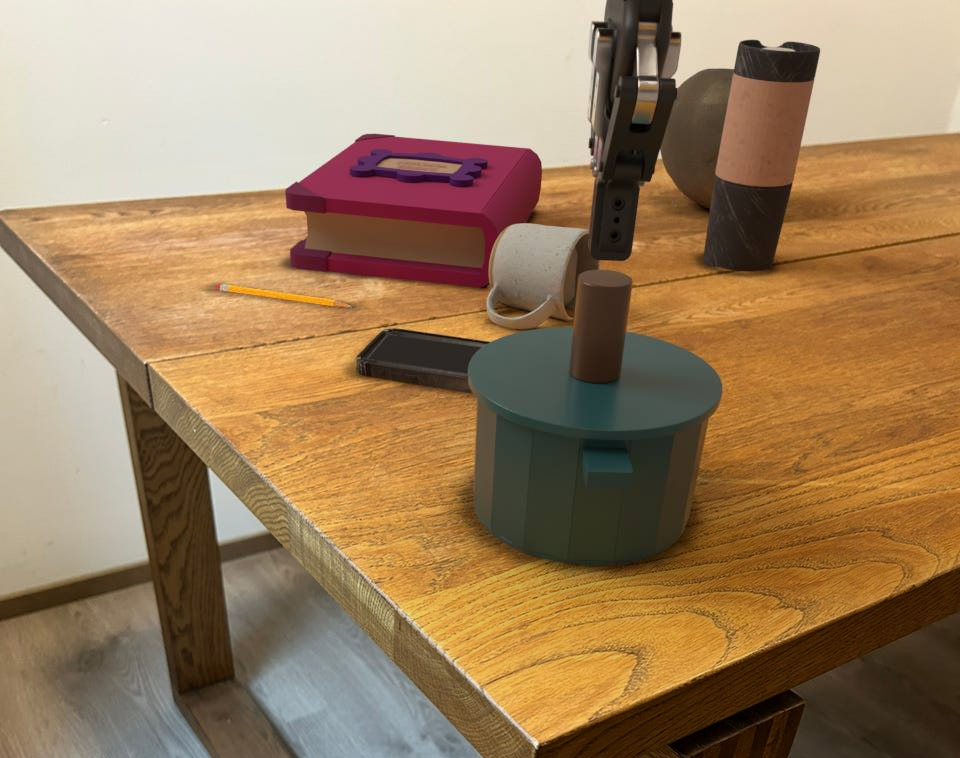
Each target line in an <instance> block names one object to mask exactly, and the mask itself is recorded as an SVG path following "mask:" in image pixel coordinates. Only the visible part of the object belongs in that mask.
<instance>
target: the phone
mask: <svg viewBox="0 0 960 758" xmlns="http://www.w3.org/2000/svg"><path fill="white" fill-rule="evenodd" d="M490 342H491V341H488V340H481V339H474V338H467V337H460V336H454V335H446V334H439V333H433V332H425V331H418V330H411V329H404V328H395V327H394V328H393V327H391V328H386V329H385V328H384V329H382V330H381V331H380V332H379V333H378V334H377V335H376V336H375V337H374V338H373V339H372V340H371V341H370V342H369V343H368V344H367V345H366V346H365V347H364V348H363V349H362V350H361V351H360V352H359V353H358V354H357V355H356V357H355V358H356V360H355V361H356V373H358V374H359V375H360V376H362V377H363V376H364V377H369V378H376V379H380V380H381V379H382V380H389V381H395V382H399V383H408V384H414V385H420V386H425V387H432V388H433V387H434V388H440V389H446V390H453V391H459V392H467V393H472V391H471V389H470V387H469V384H468V366H469V362H470V360H471V358H472V356H473V355H474V354H475V353H476V352H477V351H478V350H479V349H480V348H482V347H483V346H484V345H486V344H488V343H490ZM472 394H473V393H472Z"/></svg>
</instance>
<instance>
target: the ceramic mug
mask: <svg viewBox="0 0 960 758" xmlns="http://www.w3.org/2000/svg"><path fill="white" fill-rule="evenodd" d="M588 238H589V229H587V228H578V227H577V228H576V227H569V226H568V227H567V226H566V227H565V226H558V225H557V226H555V225H545V224H538V223H532V222H531V223H530V222H526V223H521V224H514V225H510V226H508V227H506V228H505V229H504V230H503V231H502V232H501V233H500V235H499V236H498V238H497V240H496V241H495V243H494V246H493V248H492V252H491V255H490V260H489V287H490V289H491V290H490V291H489V293H488V295H487V297H486V303H485V304H486V311H487V312H486V313H487V315H488V319H489V320H490V321H491V322H492V323H493V324H496V325H498V326H501V327H502V328H503V327H504V328H508V329H513V330H514V329H515V330H534V329H537V328H538V327H539V326H541V325H542V324H543V323H545V322H546V321H547V320H548V319H549V318H554V319H557V320H561V321H566V322H570V321H574V317H571V316H569V315H568V313H567V311H566V308H570V309H573V310H575V305H576V294H577V284H578V277H579V275H580V274H581V273H583V272H586V271H590V270H600V267H601V266H600V264H601V263H600V262H601V260H596V259H594V258H593V257H592V255H591V253H590V249H589V246H588ZM498 303H502V304H503V305H506V306H508V307H510V308H511V307H512V308H514V309H519V310H522V311H523V310H524V311H529V313H526V314H524V315H520V316H516V317H506V316H503V315H500V314H498V313H497V312H496V310H495V308H496V306H497V305H498Z"/></svg>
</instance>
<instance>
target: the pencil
mask: <svg viewBox="0 0 960 758" xmlns="http://www.w3.org/2000/svg"><path fill="white" fill-rule="evenodd" d="M214 290H215V291H222V292H229V293H236V294H243V295H250V296H257V297H264V298H271V299H279V300H285V301H286V300H287V301H294V302H299V303H307V304H315V305H322V306H327V307H336V308H337V307H338V308H352V306H351V305H349V304H347V303H344V302H342V301H339V300H336V299H330V298H325V297H317V296H309V295H304V294H303V295H302V294H294V293H287V292H280V291H273V290H267V289H260V288H259V289H258V288H253V287H245V286H237V285H231V284H222V283H216V284H215V287H214Z"/></svg>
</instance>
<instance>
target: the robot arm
mask: <svg viewBox="0 0 960 758" xmlns="http://www.w3.org/2000/svg"><path fill="white" fill-rule="evenodd" d="M673 11H674V0H606V2H605V8H604V16H603V20H602V21H600V20H598V21H597V20H591V22H590V28H589V36H588V48H587V57H588V58H589V60H590V62H591V71H590V81H589V82H590V83H589V94H588V104H587V105H588V106H587V120H588V122H589V123H590V137H589V138H588V149H589V151H590V152H589V153H590V157H592V158H591V159H590V170H591V175H592V177H593V178H594V181H593V191H592V192H593V193H592V200H591V209H590V219H589V220H590V221H589V228H588V230H589V238H588V246H589V249H590V253H591V255H592V257H593V258H594V259H596V260H600V261H609V262H625V261H627V260H628V259H629V258H630V257H631V256H632V252H633V245H634V238H635V237H634V236H635V230H636V229H635V228H636V221H637V215H638V213H637V212H638V206H639V200H640V199H639V198H640V191H641V188H642V187H643V188H644V186H645V183H651V181H652V178H653V175H654V174H655V171H656V165H657V161H658V158H659V155H660V152H661V151H660V148H661V145H662V141H663V138H664V135H665V131H666V128H667V124H668V121H669V118H670V114H671V111H672V108H673V104H674V100H676V98H677V88H678V87H677V81H676V78H673V76H675V74H676V73H677V71H678V67H679V60H680V56H681V55H680V54H681V48H682V32H681V31H674V29H673V28H674V27H673V15H674V14H673Z"/></svg>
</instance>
